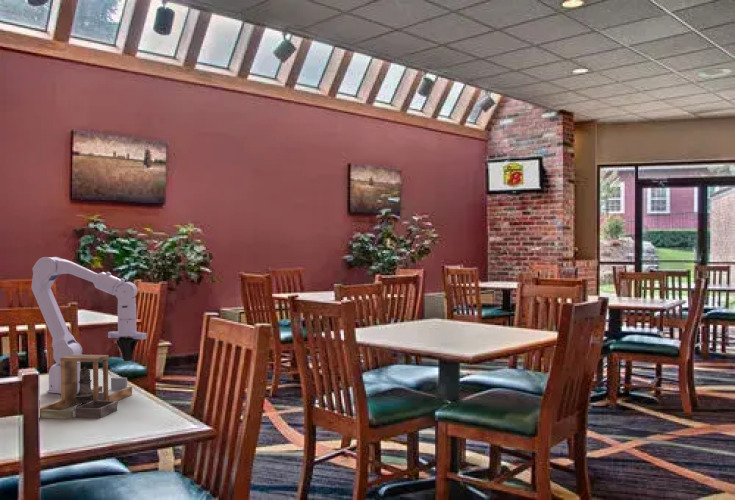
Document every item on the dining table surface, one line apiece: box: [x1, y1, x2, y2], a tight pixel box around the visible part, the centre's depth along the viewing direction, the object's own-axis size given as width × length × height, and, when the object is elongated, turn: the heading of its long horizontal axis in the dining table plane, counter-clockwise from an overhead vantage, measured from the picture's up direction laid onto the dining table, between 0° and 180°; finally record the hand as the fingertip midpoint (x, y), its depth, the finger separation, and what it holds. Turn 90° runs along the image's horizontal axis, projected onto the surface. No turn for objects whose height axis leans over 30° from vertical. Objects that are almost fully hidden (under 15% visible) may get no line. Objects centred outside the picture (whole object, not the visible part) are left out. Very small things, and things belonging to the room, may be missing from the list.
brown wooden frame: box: [39, 354, 133, 420], centre depth 192 cm, size 30×18×15 cm, turn 170°
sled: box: [99, 376, 128, 401], centre depth 203 cm, size 15×6×5 cm, turn 170°
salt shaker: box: [74, 365, 93, 408], centre depth 192 cm, size 6×6×12 cm
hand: (127, 360), depth 215 cm, fingers closed
